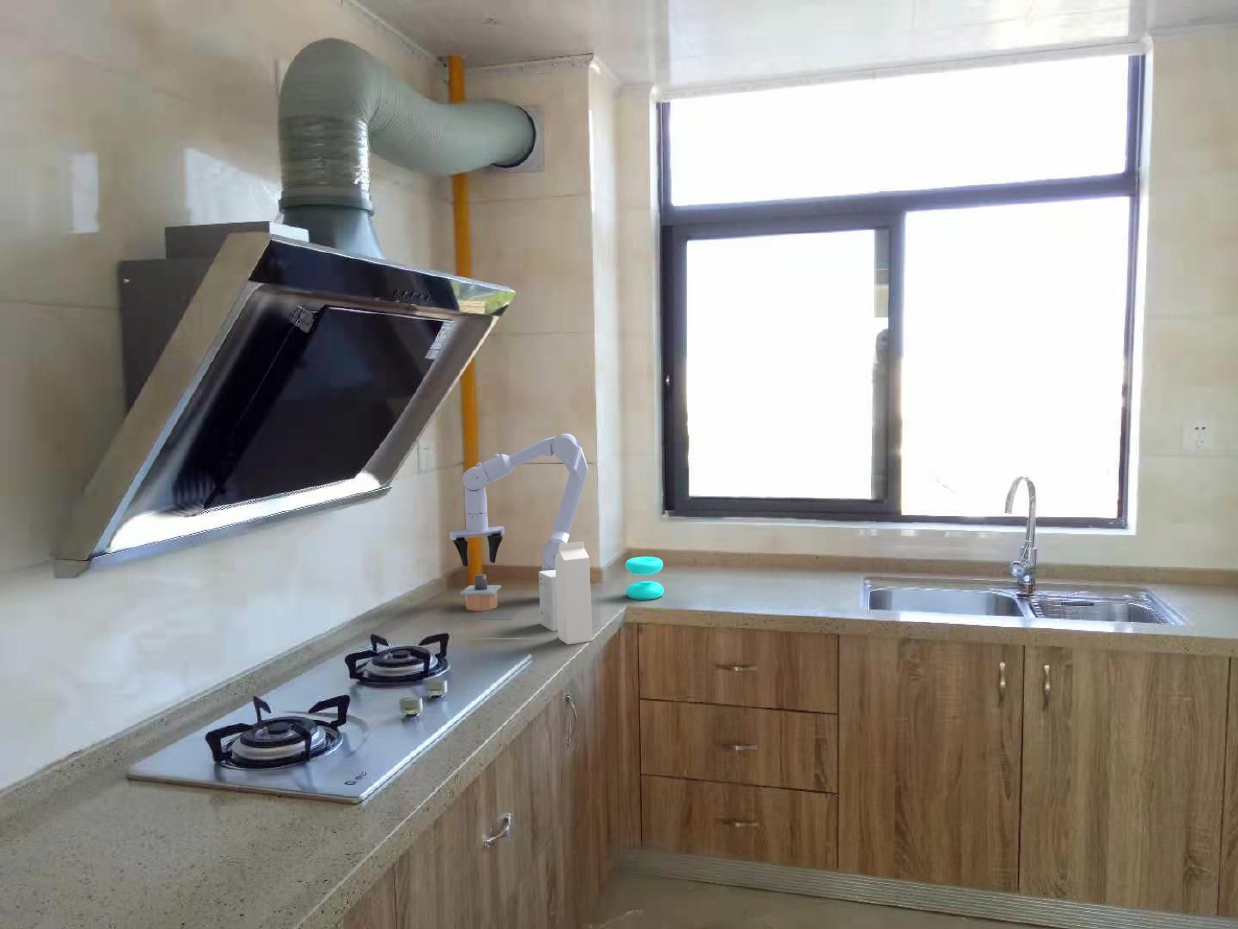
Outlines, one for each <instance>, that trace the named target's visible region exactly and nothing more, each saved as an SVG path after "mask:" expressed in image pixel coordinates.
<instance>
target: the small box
mask: <svg viewBox="0 0 1238 929" xmlns="http://www.w3.org/2000/svg"><path fill="white" fill-rule="evenodd" d="M538 591H539V595H538V596H539V601H540V602H539V612H540V614H539V616H540V617H539V619H540V621H539V622H540V625H542V626H543V627H545V628H547V629H549V630H550V631H552V632H554V631H555V632H556V631H558V618H557V593H556V570H548V571H542V570H541V571H538Z"/></svg>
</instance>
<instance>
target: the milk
mask: <svg viewBox="0 0 1238 929" xmlns="http://www.w3.org/2000/svg"><path fill="white" fill-rule="evenodd" d="M555 569H556V593H557V618H558V630H557V633H558V634H557V637H558V640H560V641H562V642H563V643H564V644H566V645H574V644H580V643H581V644H582V643H588V642H593V622H592V621H593V620H592V619H593V618H592V600H591V599H592V597H591V571H590V569H591V568H590V556H589V554H588V553H587V550H586V549H585V542H584V541H574V542H567V543H563V544H559V551H558V553H557V554H556V555H555Z"/></svg>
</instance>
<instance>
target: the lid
mask: <svg viewBox="0 0 1238 929" xmlns="http://www.w3.org/2000/svg"><path fill="white" fill-rule="evenodd" d="M487 577H488V576H487V574H485V573H483V574H481V573H479V574H475V575H473V581H474V584H473V585H470V584H469V585H468V586H467V587H466V588H465V589H463V590H462V591H460V593H459V594H460V596H465V595H493V594H494V593H495V592H496V591H497V592H498V591H499V590H500V589H501V588H502V585H501V584H498V585H497V584H496V585H495V584H493V585H492V584H489V585H488V578H487Z"/></svg>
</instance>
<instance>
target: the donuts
mask: <svg viewBox="0 0 1238 929" xmlns="http://www.w3.org/2000/svg"><path fill="white" fill-rule="evenodd" d="M624 566H625V569H626V570H627V571H628V573H631V574H633V575H638V576H641V575H642V576H645V575H646V576H647V575H653V574H657V573H658V572H660V571H661V570H662V569H663V566H664V562H663V560H662V559H660V558H658V557H655V556H637V557H631V558H629V559H628V560H626V562H625V564H624ZM625 591H626V592H625V593H626V596H628V597H629V598H630V599H632V598H633V600H639V601H641V600H643V601H645V600H646V601H648V600H655V599H658V598H660V597H662V596H663V594H664V593H665V589H664V587H663V585H661V583H658V582H656V581H651V580H648V581H647V580H644V581H643V580H642V581H641V580H640V581H636V582H633V583H631V584H629V585H628V586H627V588H626V590H625Z"/></svg>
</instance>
